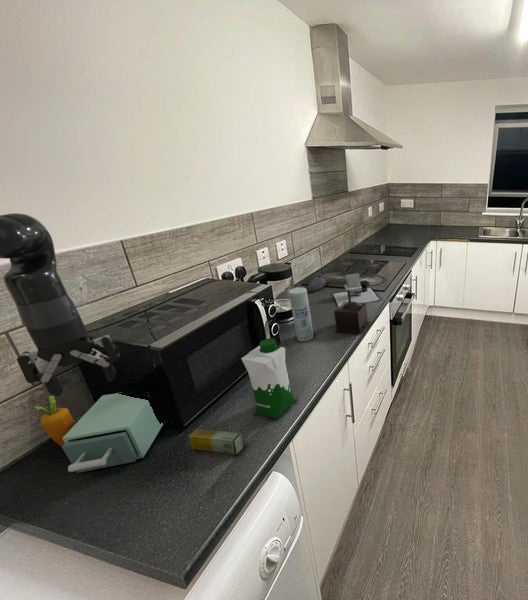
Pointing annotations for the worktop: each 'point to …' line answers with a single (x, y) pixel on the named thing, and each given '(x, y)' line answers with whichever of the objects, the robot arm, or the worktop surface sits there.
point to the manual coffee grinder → (352, 313)
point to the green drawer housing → (119, 421)
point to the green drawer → (100, 451)
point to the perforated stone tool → (316, 283)
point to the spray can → (301, 313)
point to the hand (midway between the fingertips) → (86, 386)
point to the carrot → (56, 421)
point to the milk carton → (269, 378)
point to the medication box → (216, 441)
